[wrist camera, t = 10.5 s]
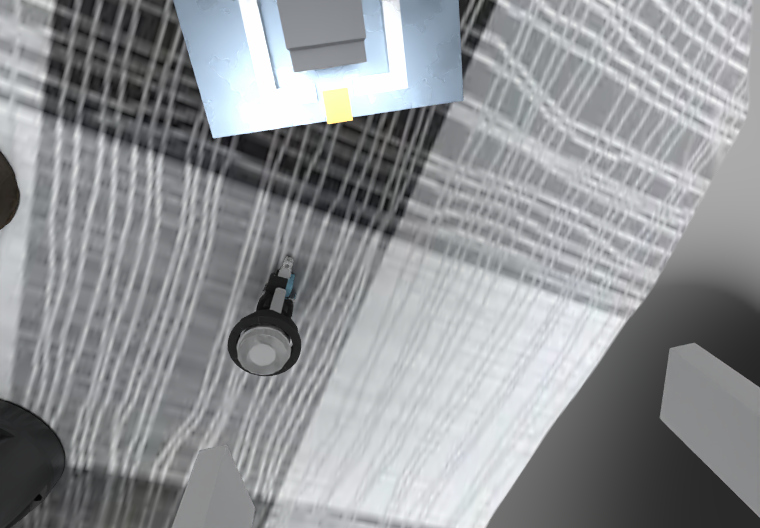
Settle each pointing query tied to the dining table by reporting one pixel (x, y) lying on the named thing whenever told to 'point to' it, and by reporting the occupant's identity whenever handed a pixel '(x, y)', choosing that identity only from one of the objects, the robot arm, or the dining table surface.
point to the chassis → (322, 86)
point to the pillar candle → (7, 192)
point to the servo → (323, 33)
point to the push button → (268, 329)
